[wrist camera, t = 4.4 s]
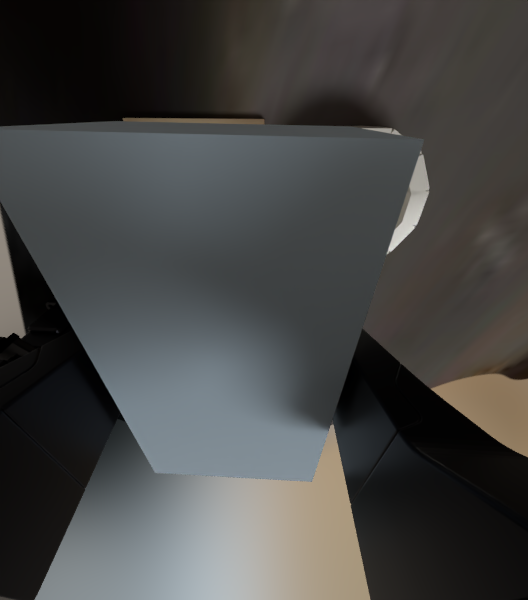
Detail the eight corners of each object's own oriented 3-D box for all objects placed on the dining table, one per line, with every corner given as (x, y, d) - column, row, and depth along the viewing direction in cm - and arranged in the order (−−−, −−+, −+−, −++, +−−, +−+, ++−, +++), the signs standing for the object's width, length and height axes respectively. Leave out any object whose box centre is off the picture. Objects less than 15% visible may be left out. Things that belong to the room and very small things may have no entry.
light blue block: (303, 389, 13) (312, 481, 10) (185, 383, 13) (155, 473, 10) (350, 126, 6) (423, 139, 3) (115, 120, 7) (-41, 128, 3)
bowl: (388, 250, 21) (401, 267, 19) (285, 247, 21) (285, 263, 19) (428, 126, 16) (452, 129, 14) (292, 125, 16) (294, 127, 14)
